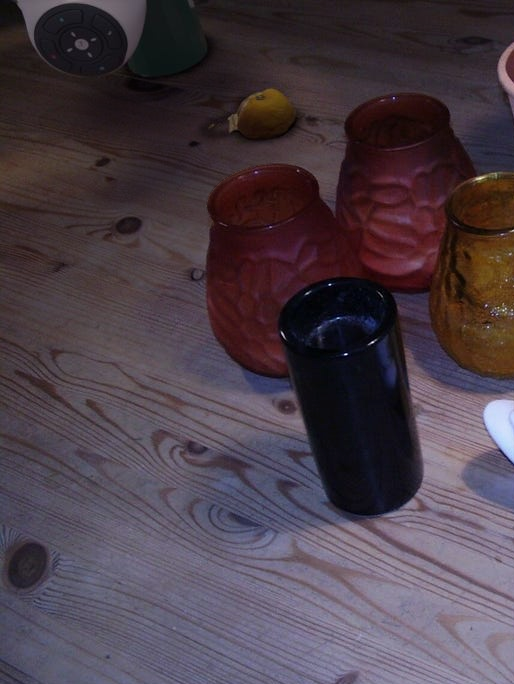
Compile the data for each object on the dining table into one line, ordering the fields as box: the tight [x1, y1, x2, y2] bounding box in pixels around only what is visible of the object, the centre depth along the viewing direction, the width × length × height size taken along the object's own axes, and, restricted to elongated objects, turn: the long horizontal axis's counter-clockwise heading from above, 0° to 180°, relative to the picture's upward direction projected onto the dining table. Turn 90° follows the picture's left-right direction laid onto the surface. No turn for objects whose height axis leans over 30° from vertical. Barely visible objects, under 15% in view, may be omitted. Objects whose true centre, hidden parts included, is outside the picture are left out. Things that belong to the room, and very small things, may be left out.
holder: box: [126, 0, 209, 78], centre depth 108 cm, size 9×9×10 cm
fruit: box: [207, 87, 297, 141], centre depth 99 cm, size 8×8×4 cm
